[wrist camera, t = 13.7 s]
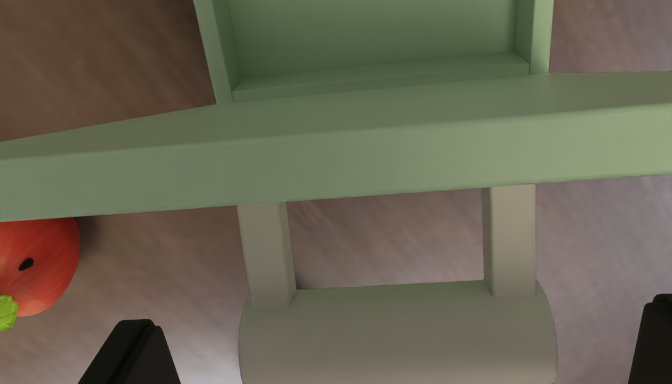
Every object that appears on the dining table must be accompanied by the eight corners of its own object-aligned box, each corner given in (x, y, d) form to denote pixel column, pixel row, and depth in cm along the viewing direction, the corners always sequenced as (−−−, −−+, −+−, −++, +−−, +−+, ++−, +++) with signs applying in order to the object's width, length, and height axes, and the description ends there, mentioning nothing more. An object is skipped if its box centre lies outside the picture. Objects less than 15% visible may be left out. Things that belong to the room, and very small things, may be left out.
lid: (-200, 176, 6) (-93, 492, 7) (1119, 64, 5) (1018, 478, 6) (213, 104, 22) (228, 207, 23) (551, 73, 21) (551, 184, 22)
